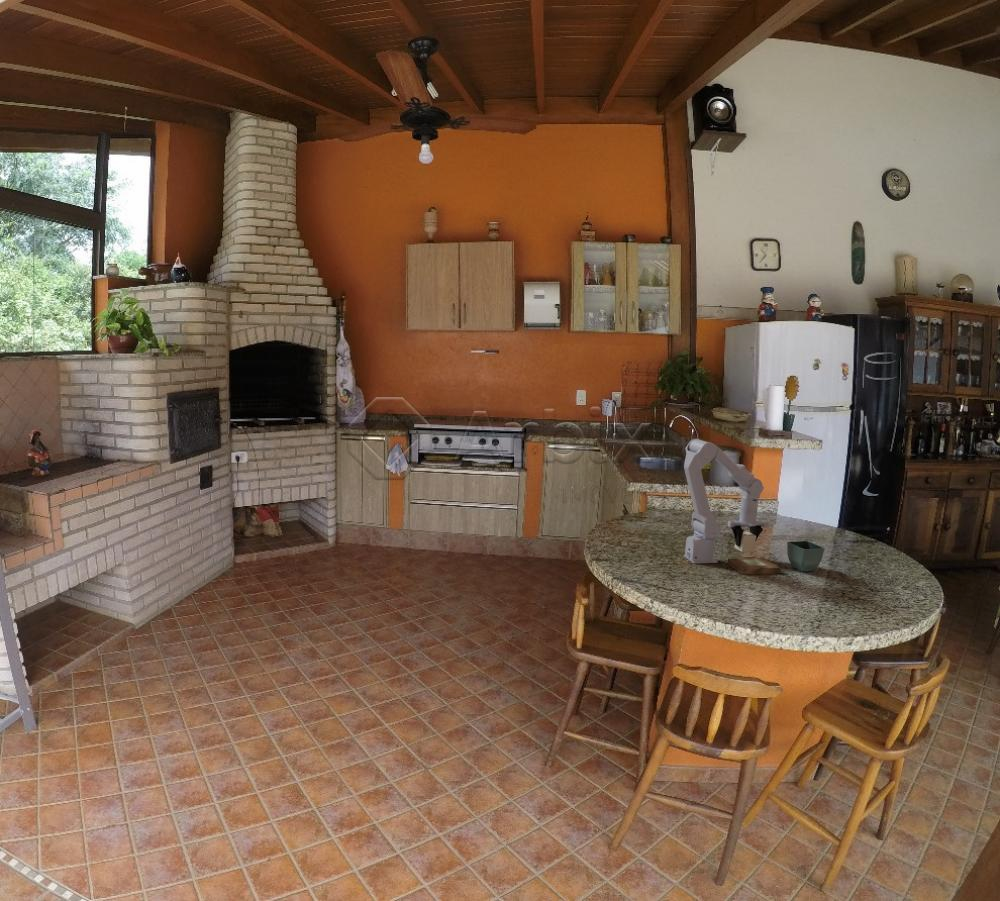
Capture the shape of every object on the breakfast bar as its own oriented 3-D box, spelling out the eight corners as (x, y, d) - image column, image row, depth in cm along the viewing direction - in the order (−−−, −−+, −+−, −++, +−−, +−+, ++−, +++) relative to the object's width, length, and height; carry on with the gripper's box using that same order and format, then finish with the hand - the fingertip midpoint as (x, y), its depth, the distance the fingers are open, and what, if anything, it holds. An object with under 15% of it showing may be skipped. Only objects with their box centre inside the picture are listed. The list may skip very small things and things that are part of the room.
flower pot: (801, 574, 217) (804, 549, 215) (783, 565, 225) (786, 541, 224) (822, 572, 219) (825, 548, 218) (804, 564, 228) (807, 540, 226)
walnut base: (742, 574, 215) (743, 568, 215) (727, 564, 225) (727, 558, 224) (779, 573, 217) (780, 567, 217) (762, 563, 227) (763, 557, 227)
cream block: (741, 551, 229) (743, 536, 228) (734, 547, 234) (736, 531, 233) (754, 551, 230) (756, 535, 229) (746, 547, 235) (748, 531, 234)
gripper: (736, 512, 224) (732, 549, 226) (773, 512, 227) (769, 548, 229) (726, 507, 231) (722, 543, 233) (762, 507, 233) (757, 542, 236)
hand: (744, 545), depth 231 cm, fingers closed on cream block, 5 cm apart
